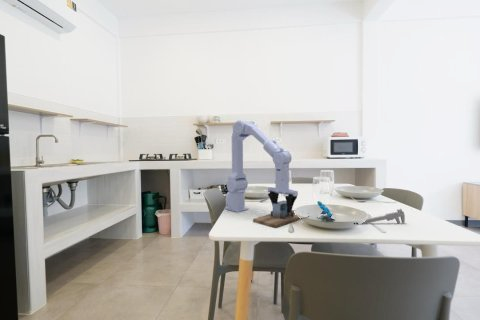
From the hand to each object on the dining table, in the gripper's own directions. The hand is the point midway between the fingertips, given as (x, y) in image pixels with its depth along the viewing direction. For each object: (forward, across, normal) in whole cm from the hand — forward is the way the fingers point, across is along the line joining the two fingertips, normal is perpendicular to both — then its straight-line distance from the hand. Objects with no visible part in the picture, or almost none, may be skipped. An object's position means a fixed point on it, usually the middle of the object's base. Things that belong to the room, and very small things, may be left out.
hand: (282, 210), depth 114 cm
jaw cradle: (+4, 0, 0) cm, 4 cm away
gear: (+4, +13, +14) cm, 20 cm away
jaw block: (+2, 0, 0) cm, 2 cm away
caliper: (+4, +32, +22) cm, 39 cm away
